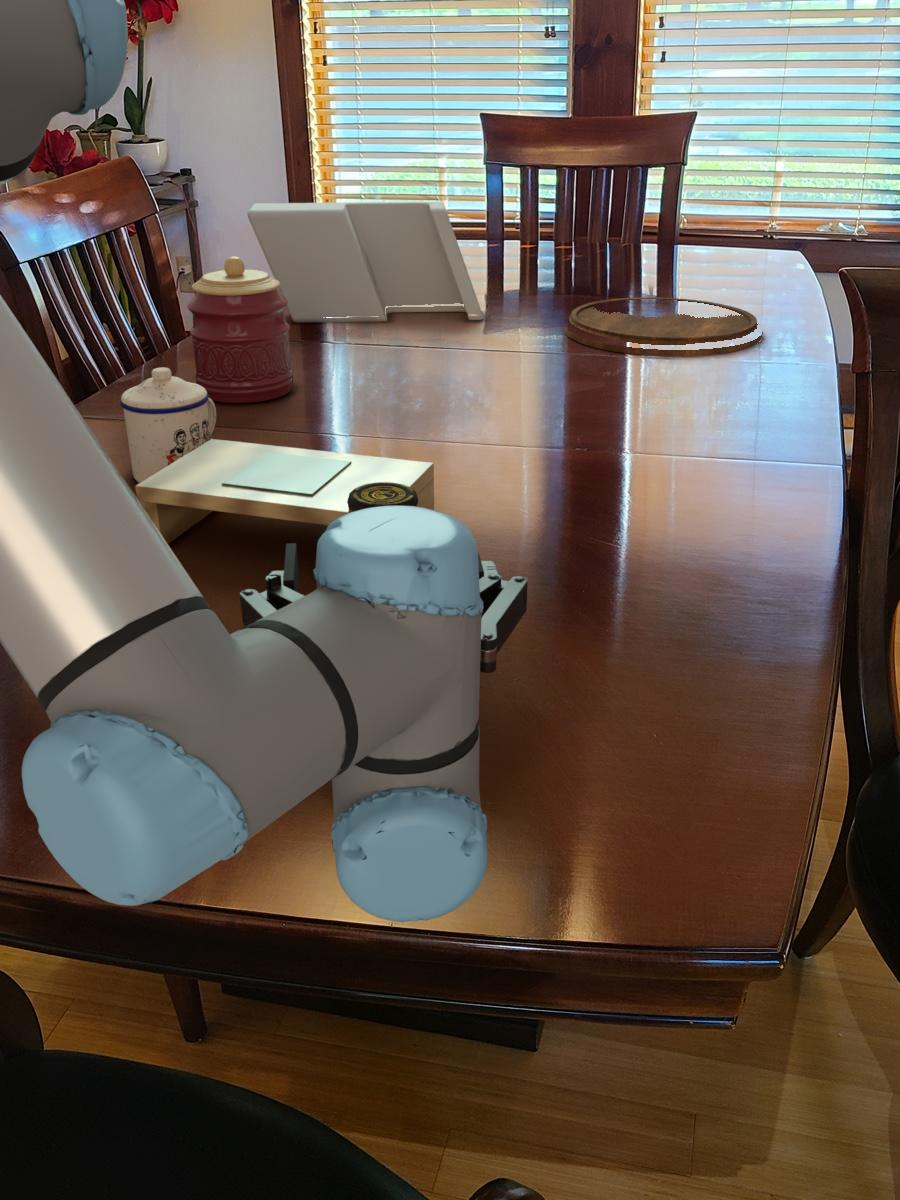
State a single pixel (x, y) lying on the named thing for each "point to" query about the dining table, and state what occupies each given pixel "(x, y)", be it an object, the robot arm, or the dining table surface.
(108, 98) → the robot arm
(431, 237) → the bracket
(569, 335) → the cutting board
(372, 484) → the condiment
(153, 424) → the teacup with lid
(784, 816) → the dining table surface
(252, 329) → the kitchen canister
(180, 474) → the oak shelf
